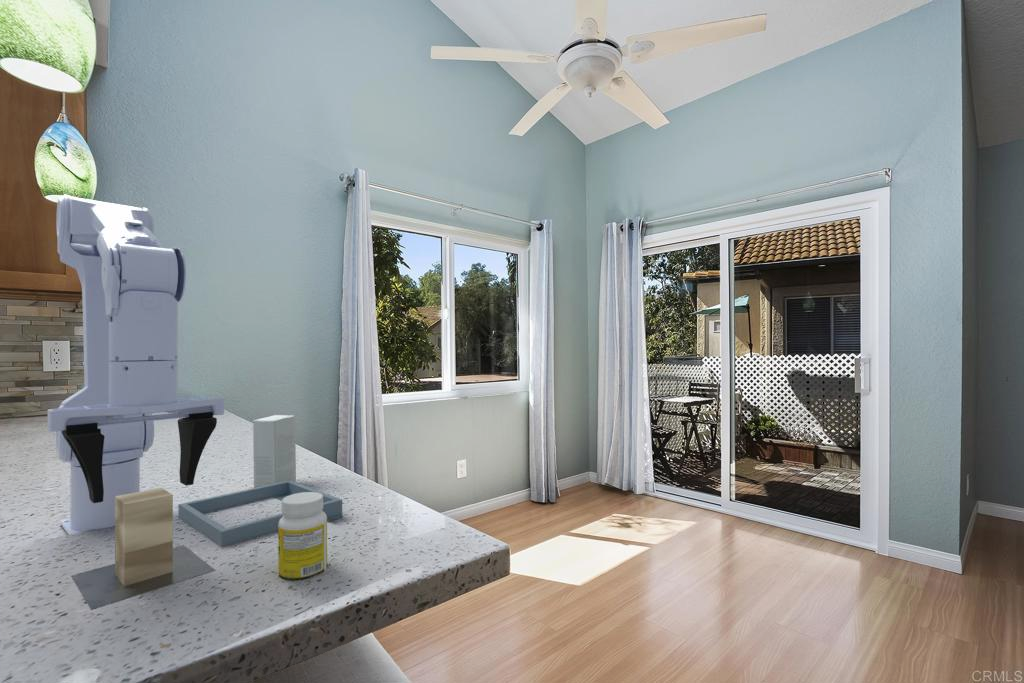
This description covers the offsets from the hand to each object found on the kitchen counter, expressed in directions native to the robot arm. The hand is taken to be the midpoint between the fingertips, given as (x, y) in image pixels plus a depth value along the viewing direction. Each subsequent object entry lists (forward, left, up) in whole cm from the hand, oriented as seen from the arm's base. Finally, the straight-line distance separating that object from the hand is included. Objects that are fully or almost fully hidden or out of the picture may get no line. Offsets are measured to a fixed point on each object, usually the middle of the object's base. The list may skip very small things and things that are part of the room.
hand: (144, 491), depth 51 cm
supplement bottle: (+12, +11, -9) cm, 19 cm away
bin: (-9, +16, -9) cm, 20 cm away
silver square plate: (0, 0, -9) cm, 9 cm away
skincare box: (-24, +24, -9) cm, 35 cm away
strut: (0, 0, -8) cm, 8 cm away
